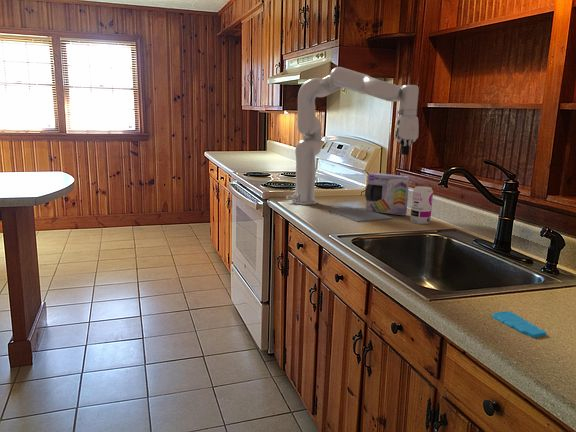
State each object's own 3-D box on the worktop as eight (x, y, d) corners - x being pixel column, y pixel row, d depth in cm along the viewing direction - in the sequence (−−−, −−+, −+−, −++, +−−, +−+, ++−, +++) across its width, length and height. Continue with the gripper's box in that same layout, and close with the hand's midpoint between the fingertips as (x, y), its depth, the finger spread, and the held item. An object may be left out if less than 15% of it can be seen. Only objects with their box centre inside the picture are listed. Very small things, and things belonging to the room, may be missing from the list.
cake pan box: (362, 210, 224) (366, 172, 220) (366, 208, 228) (370, 171, 224) (403, 216, 215) (408, 177, 212) (406, 215, 220) (411, 176, 216)
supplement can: (431, 221, 208) (434, 187, 205) (428, 225, 201) (431, 189, 198) (412, 219, 212) (415, 185, 208) (408, 223, 204) (411, 188, 201)
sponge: (525, 336, 102) (548, 331, 103) (489, 313, 113) (510, 308, 115) (525, 342, 102) (548, 337, 104) (488, 319, 114) (510, 314, 115)
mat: (357, 222, 203) (357, 220, 203) (330, 211, 222) (330, 210, 222) (392, 218, 211) (392, 217, 211) (363, 208, 230) (364, 207, 230)
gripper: (400, 113, 209) (396, 155, 213) (426, 114, 216) (423, 155, 220) (389, 113, 216) (386, 154, 220) (415, 113, 222) (412, 153, 226)
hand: (404, 154), depth 220 cm, fingers closed
